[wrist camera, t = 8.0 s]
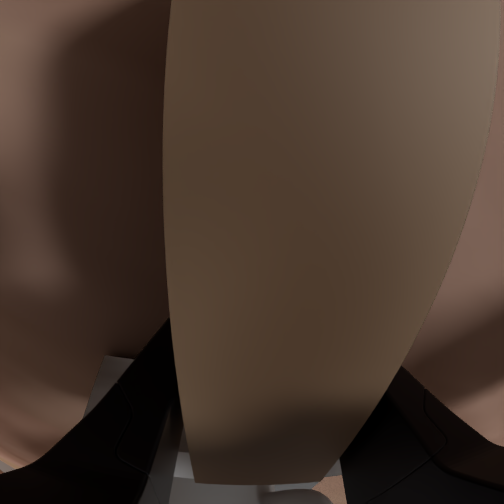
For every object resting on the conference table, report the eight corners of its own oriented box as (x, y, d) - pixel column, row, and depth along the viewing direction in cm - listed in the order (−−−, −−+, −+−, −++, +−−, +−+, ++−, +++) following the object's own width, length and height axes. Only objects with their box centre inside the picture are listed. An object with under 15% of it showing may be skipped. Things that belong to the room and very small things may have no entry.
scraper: (488, 38, 5) (615, 53, 2) (371, 400, 13) (396, 486, 9) (71, -17, 5) (-53, -54, 1) (118, 393, 12) (95, 486, 8)
